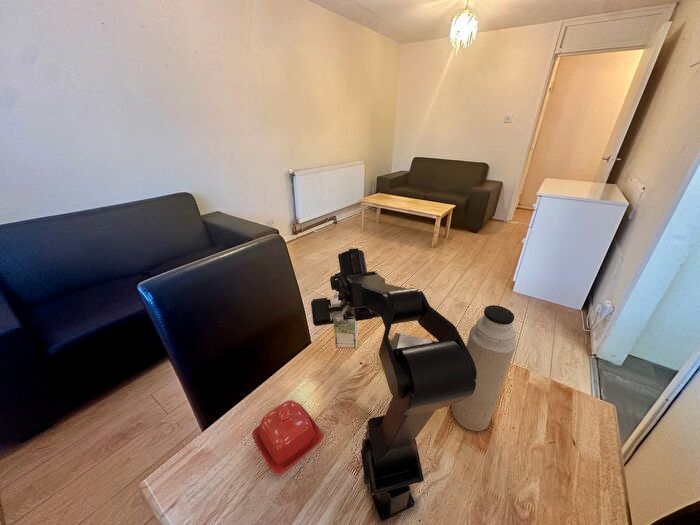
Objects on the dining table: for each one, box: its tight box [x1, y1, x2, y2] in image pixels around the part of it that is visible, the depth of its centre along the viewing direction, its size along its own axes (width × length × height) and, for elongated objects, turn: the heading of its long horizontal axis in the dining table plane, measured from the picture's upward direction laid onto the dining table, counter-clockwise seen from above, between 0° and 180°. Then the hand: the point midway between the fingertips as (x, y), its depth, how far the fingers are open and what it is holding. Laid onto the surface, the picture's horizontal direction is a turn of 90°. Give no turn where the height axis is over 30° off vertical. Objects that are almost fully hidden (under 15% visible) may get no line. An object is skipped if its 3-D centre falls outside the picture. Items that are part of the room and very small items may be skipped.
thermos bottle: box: [451, 304, 517, 432], centre depth 57 cm, size 8×8×28 cm
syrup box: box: [331, 292, 359, 350], centre depth 76 cm, size 6×6×14 cm
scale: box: [391, 332, 438, 350], centre depth 78 cm, size 12×12×3 cm
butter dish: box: [251, 399, 325, 477], centre depth 57 cm, size 12×12×8 cm
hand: (345, 313), depth 76 cm, fingers closed on syrup box, 7 cm apart
